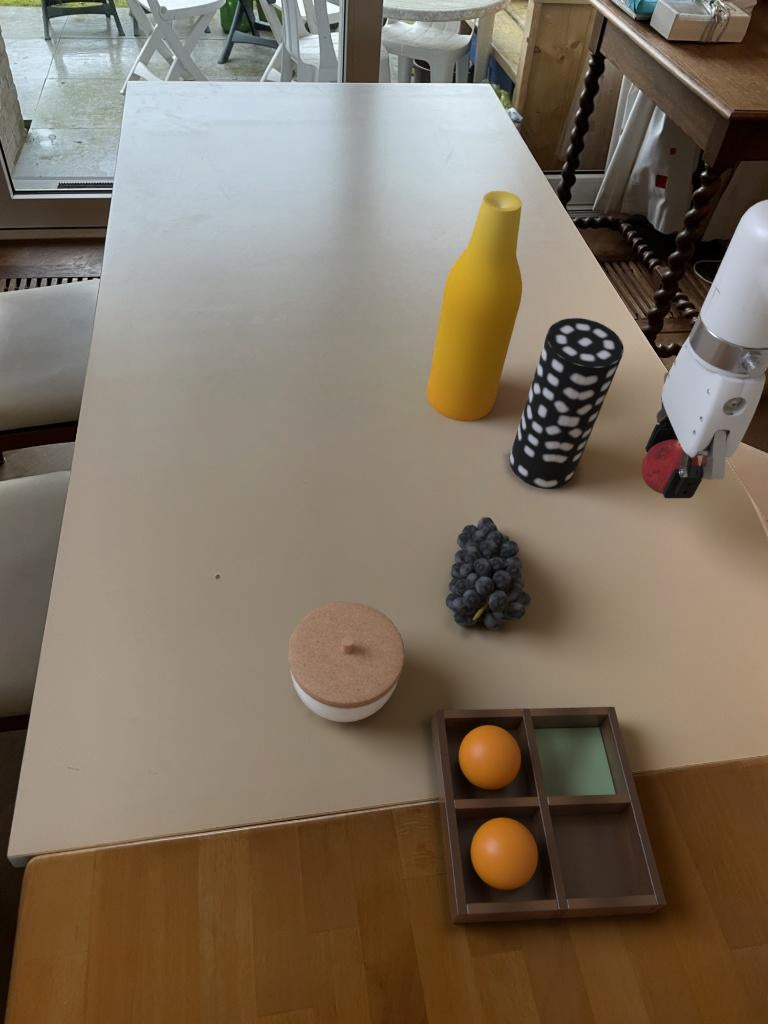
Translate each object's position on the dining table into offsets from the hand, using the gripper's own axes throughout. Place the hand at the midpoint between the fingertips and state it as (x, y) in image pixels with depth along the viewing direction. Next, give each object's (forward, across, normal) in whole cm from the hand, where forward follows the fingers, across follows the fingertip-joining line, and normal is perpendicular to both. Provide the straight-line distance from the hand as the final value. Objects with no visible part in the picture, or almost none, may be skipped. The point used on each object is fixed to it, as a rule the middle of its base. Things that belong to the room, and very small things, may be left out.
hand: (668, 472), depth 86 cm
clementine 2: (+7, -36, +23) cm, 44 cm away
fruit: (+11, -7, +20) cm, 24 cm away
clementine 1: (+7, -28, +23) cm, 37 cm away
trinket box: (+11, -19, +36) cm, 42 cm away
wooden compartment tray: (+11, -32, +19) cm, 39 cm away
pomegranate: (+3, 0, 0) cm, 3 cm away
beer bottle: (+10, +23, +19) cm, 31 cm away
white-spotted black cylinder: (+11, +11, +10) cm, 18 cm away
